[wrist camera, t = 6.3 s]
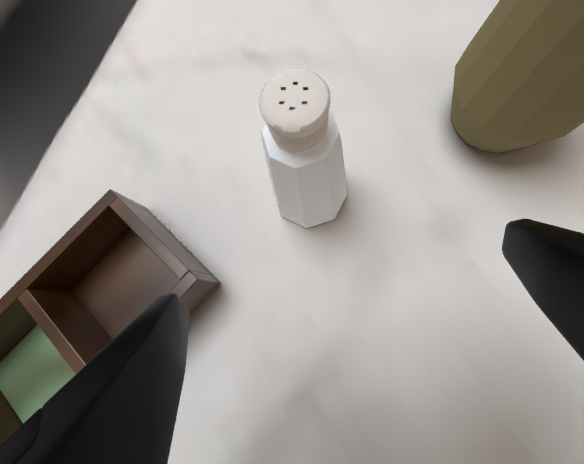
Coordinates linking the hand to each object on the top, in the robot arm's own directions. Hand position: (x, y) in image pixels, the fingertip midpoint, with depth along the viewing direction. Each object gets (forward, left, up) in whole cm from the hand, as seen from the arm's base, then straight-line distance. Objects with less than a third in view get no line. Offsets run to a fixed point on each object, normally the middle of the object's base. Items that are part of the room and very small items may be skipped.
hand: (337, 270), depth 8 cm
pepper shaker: (+3, -6, -13) cm, 15 cm away
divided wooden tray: (+15, +8, -13) cm, 21 cm away
